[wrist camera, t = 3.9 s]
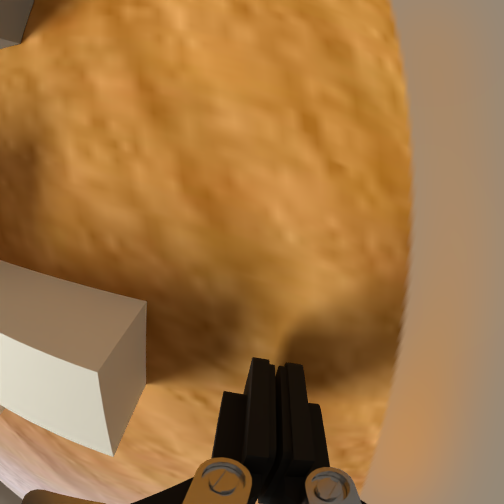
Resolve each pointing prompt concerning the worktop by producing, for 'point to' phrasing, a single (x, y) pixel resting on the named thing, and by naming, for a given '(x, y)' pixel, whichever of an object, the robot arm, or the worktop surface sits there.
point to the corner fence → (13, 21)
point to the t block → (70, 356)
